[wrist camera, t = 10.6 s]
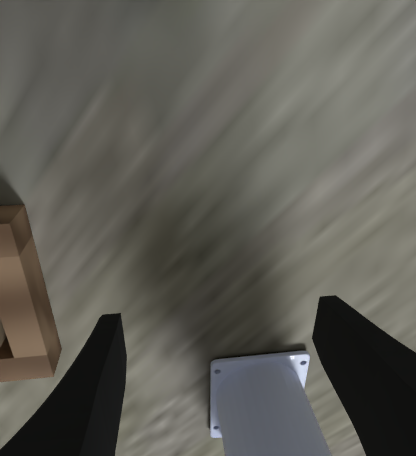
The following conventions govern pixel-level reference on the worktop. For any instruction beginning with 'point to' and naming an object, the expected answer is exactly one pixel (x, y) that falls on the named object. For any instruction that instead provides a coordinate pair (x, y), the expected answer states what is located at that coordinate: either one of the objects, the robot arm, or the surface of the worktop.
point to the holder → (24, 303)
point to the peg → (2, 333)
